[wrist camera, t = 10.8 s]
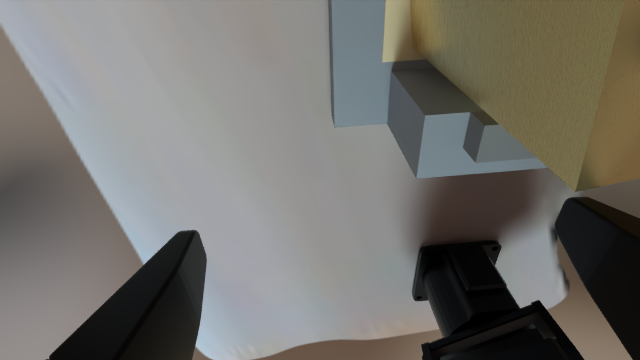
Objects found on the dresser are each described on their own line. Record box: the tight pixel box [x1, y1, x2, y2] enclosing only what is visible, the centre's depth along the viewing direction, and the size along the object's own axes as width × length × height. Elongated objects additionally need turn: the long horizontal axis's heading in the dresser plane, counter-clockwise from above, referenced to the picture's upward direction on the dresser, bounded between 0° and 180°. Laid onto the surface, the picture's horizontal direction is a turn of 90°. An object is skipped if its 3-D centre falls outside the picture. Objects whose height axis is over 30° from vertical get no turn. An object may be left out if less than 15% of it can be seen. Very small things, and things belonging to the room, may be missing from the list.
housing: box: [410, 0, 640, 192], centre depth 10 cm, size 5×5×14 cm
